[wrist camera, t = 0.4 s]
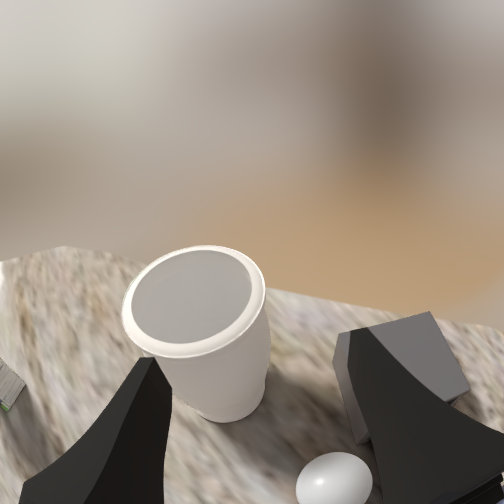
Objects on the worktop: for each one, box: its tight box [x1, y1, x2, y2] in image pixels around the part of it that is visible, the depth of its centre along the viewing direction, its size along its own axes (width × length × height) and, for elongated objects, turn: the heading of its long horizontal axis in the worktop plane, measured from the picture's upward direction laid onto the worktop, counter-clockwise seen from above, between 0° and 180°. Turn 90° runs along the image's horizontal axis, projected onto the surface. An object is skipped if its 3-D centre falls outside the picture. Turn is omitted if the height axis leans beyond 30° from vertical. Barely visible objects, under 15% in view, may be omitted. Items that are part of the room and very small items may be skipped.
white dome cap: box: [296, 452, 372, 504], centre depth 16 cm, size 6×6×2 cm
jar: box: [121, 245, 271, 423], centre depth 25 cm, size 11×10×15 cm
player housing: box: [332, 311, 470, 445], centre depth 25 cm, size 10×11×6 cm
